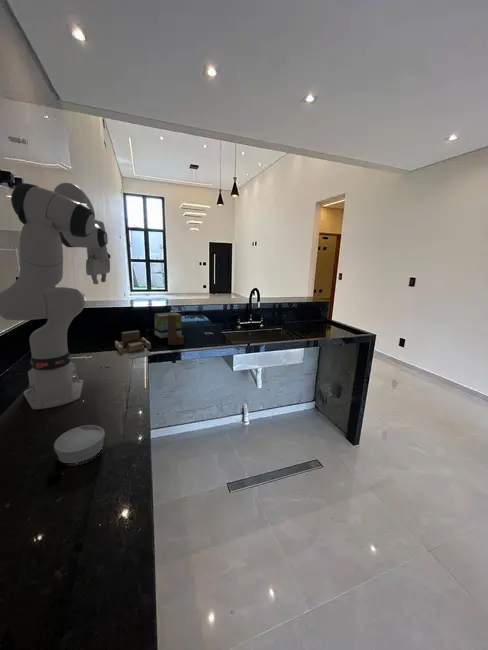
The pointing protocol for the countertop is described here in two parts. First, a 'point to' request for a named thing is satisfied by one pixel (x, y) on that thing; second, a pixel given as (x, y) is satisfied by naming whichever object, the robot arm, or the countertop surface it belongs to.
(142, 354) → the mat
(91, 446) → the ramekin
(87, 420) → the countertop surface
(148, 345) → the tray
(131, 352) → the offcut lower
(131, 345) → the offcut upper
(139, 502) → the countertop surface
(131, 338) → the dark brown wood block
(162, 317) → the tea box
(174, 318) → the wooden block
